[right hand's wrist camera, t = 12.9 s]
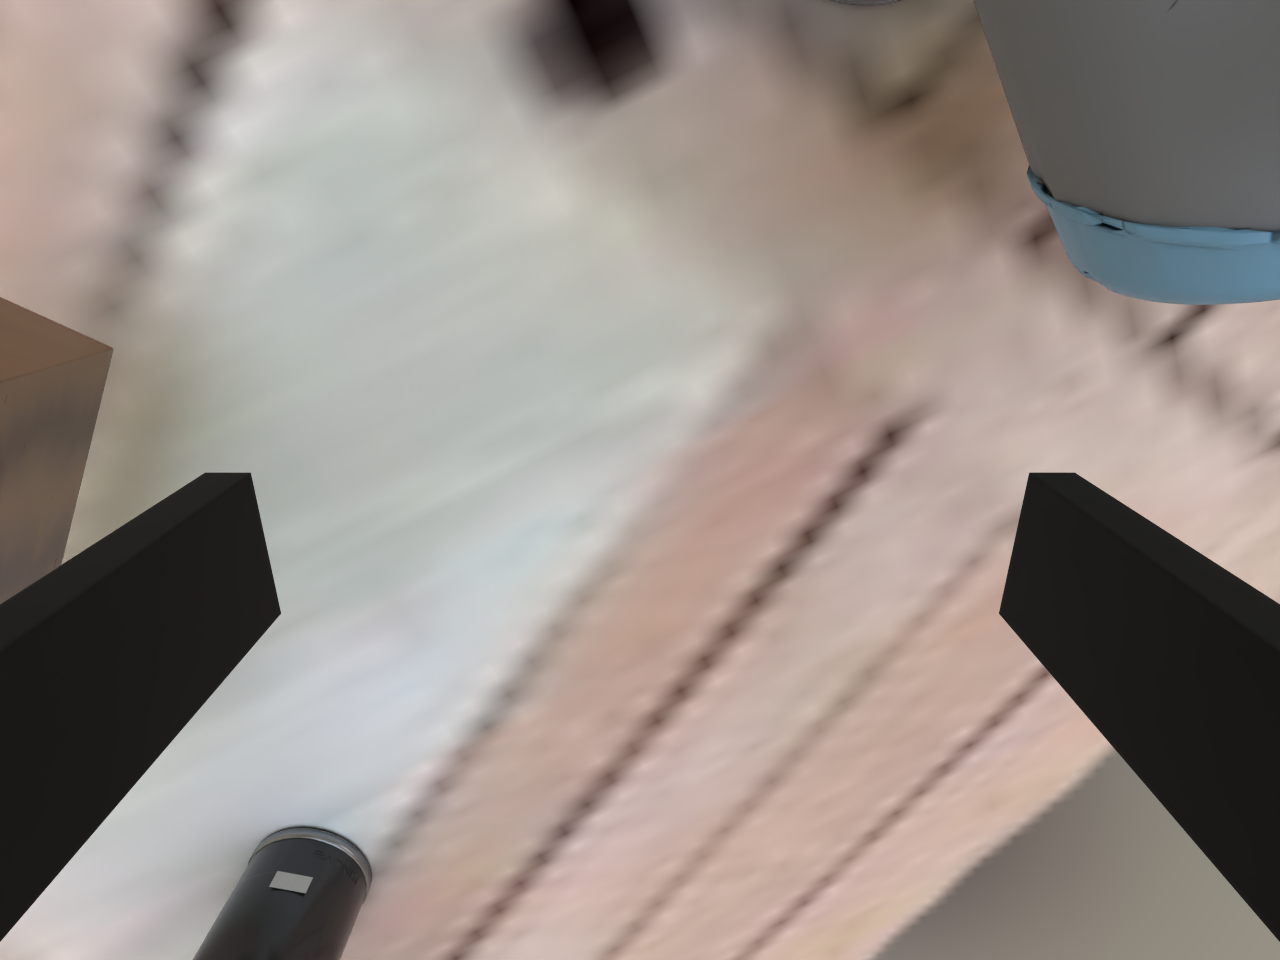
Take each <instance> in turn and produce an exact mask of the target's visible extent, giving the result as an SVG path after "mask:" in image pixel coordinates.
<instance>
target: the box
mask: <svg viewBox="0 0 1280 960" xmlns="http://www.w3.org/2000/svg"><path fill="white" fill-rule="evenodd" d="M112 353H113V348H112V347H110V346H108V345H105V344H103V343H101V342H99V341H96V340H94V339H92V338H90V337H88V336H85V335H83V334H81V333H79V332H76V331H74V330H72V329H70V328H68V327H65V326H63V325H61V324H59V323H57V322H54V321H52V320H50V319H48V318H45V317H43V316H41V315H39V314H37V313H34V312H32V311H30V310H28V309H25V308H23V307H21V306H19V305H17V304H14V303H12V302H10V301H8V300H6V299H3V298H1V297H0V604H2V603H3V602H5V601H6V600H8V599H9V598H11V597H13V596H14V595H16V594H17V593H19V592H20V591H22V590H23V589H25V588H27V587H28V586H30V585H31V584H33V583H34V582H36V581H37V580H39V579H41V578H42V577H44V576H45V575H47V574H48V573H50V572H51V571H53V570H55V569H56V568H58V567H59V566H61V564H62V559H63V555H64V551H65V547H66V543H67V539H68V535H69V531H70V527H71V522H72V518H73V514H74V510H75V506H76V502H77V498H78V494H79V489H80V485H81V481H82V477H83V473H84V469H85V465H86V461H87V456H88V452H89V448H90V444H91V440H92V436H93V432H94V428H95V423H96V419H97V415H98V411H99V407H100V403H101V399H102V395H103V391H104V386H105V382H106V378H107V374H108V370H109V366H110V362H111V358H112Z"/></svg>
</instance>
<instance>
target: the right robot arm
mask: <svg viewBox="0 0 1280 960" xmlns="http://www.w3.org/2000/svg"><path fill="white" fill-rule="evenodd" d="M832 1H836V2H840V3H846V4H854V5H876V4H886V3H891V2H896V1H900V0H832ZM974 3H975V6H976V9H977V12H978V15H979V18H980V21H981V24H982V27H983V30H984V33H985V36H986V38H987V41H988V44H989V47H990V50H991V53H992V56H993V59H994V62H995V65H996V68H997V71H998V74H999V77H1000V80H1001V82H1002V85H1003V88H1004V91H1005V94H1006V97H1007V100H1008V103H1009V106H1010V109H1011V112H1012V115H1013V118H1014V121H1015V124H1016V126H1017V129H1018V132H1019V135H1020V138H1021V141H1022V144H1023V147H1024V150H1025V153H1026V156H1027V159H1028V162H1029V168H1028V172H1027V175H1028V178H1029V181H1030V184H1031V187H1032V189H1033V191H1034V192H1035V194H1036V195H1037V197H1038V198H1039V199H1040V200H1042V201H1043V202H1044V203H1045V204H1046V206H1047V208H1048V210H1049V213H1050V215H1051V218H1052V220H1053V222H1054V225H1055V227H1056V230H1057V232H1058V234H1059V237H1060V239H1061V242H1062V244H1063V246H1064V249H1065V251H1066V254H1067V256H1068V257H1069V259H1070V261H1071V262H1072V263H1073V265H1074V266H1075V267H1076V268H1077V269H1078V271H1079V272H1080V273H1082V274H1083V275H1084V276H1086V277H1088V278H1090V279H1092V280H1094V281H1097V282H1099V283H1100V284H1102V285H1104V286H1105V287H1106V288H1107V289H1108V290H1111V291H1113V292H1115V293H1118V294H1121V295H1125V296H1129V297H1133V298H1137V299H1142V300H1147V301H1153V302H1162V303H1172V304H1190V305H1210V304H1235V303H1251V302H1263V301H1271V300H1279V299H1280V0H974ZM280 614H281V611H280V607H279V602H278V597H277V593H276V588H275V583H274V579H273V574H272V570H271V565H270V560H269V556H268V551H267V546H266V542H265V537H264V532H263V528H262V523H261V518H260V514H259V509H258V505H257V500H256V495H255V491H254V486H253V481H252V477H251V473H204V474H203V475H201V476H199V477H198V478H196V479H195V480H193V481H192V482H190V483H189V484H187V485H185V486H184V487H182V488H181V489H179V490H178V491H176V492H175V493H173V494H171V495H170V496H168V497H167V498H165V499H164V500H162V501H160V502H159V503H157V504H156V505H154V506H153V507H151V508H150V509H148V510H146V511H145V512H143V513H142V514H140V515H139V516H137V517H136V518H134V519H132V520H131V521H129V522H128V523H126V524H125V525H123V526H122V527H120V528H118V529H117V530H115V531H114V532H112V533H111V534H109V535H108V536H106V537H104V538H103V539H101V540H100V541H98V542H97V543H95V544H94V545H92V546H90V547H89V548H87V549H86V550H84V551H83V552H81V553H79V554H78V555H76V556H75V557H73V558H72V559H70V560H69V561H67V562H65V563H64V564H62V565H61V566H59V567H58V568H56V569H55V570H53V571H51V572H50V573H48V574H47V575H45V576H44V577H42V578H41V579H39V580H37V581H36V582H34V583H33V584H31V585H30V586H28V587H27V588H25V589H23V590H22V591H20V592H19V593H17V594H16V595H14V596H13V597H11V598H9V599H8V600H6V601H5V602H3V603H2V604H0V941H1V940H2V939H3V938H4V937H5V936H6V934H7V933H8V932H9V931H10V930H11V929H12V927H13V926H14V925H15V924H16V923H17V921H18V920H19V919H20V918H21V917H22V916H23V914H24V913H25V912H26V911H27V910H28V909H29V907H30V906H31V905H32V904H33V903H34V902H35V900H36V899H37V898H38V897H39V896H40V895H41V893H42V892H43V891H44V890H45V889H46V888H47V886H48V885H49V884H50V883H51V882H52V881H53V879H54V878H55V877H56V876H57V875H58V874H59V872H60V871H61V870H62V869H63V868H64V867H65V865H66V864H67V863H68V862H69V861H70V860H71V858H72V857H73V856H74V855H75V854H76V853H77V851H78V850H79V849H80V848H81V847H82V845H83V844H84V843H85V842H86V841H87V840H88V838H89V837H90V836H91V835H92V834H93V833H94V831H95V830H96V829H97V828H98V827H99V826H100V824H101V823H102V822H103V821H104V820H105V819H106V817H107V816H108V815H109V814H110V813H111V812H112V810H113V809H114V808H115V807H116V806H117V805H118V803H119V802H120V801H121V800H122V799H123V798H124V796H125V795H126V794H127V793H128V792H129V791H130V789H131V788H132V787H133V786H134V785H135V784H136V782H137V781H138V780H139V779H140V778H141V777H142V775H143V774H144V773H145V772H146V771H147V769H148V768H149V767H150V766H151V765H152V764H153V762H154V761H155V760H156V759H157V758H158V757H159V755H160V754H161V753H162V752H163V751H164V750H165V748H166V747H167V746H168V745H169V744H170V743H171V741H172V740H173V739H174V738H175V737H176V736H177V734H178V733H179V732H180V731H181V730H182V729H183V727H184V726H185V725H186V724H187V723H188V722H189V720H190V719H191V718H192V717H193V716H194V715H195V713H196V712H197V711H198V710H199V709H200V708H201V706H202V705H203V704H204V703H205V702H206V701H207V699H208V698H209V697H210V696H211V695H212V693H213V692H214V691H215V690H216V689H217V688H218V686H219V685H220V684H221V683H222V682H223V681H224V679H225V678H226V677H227V676H228V675H229V674H230V672H231V671H232V670H233V669H234V668H235V667H236V665H237V664H238V663H239V662H240V661H241V660H242V658H243V657H244V656H245V655H246V654H247V653H248V651H249V650H250V649H251V648H252V647H253V646H254V644H255V643H256V642H257V641H258V640H259V639H260V637H261V636H262V635H263V634H264V633H265V632H266V630H267V629H268V628H269V627H270V626H271V625H272V623H273V622H274V621H275V620H276V619H277V617H278V616H279V615H280ZM999 614H1000V615H1001V616H1002V617H1003V619H1004V620H1005V621H1006V622H1007V623H1008V625H1009V626H1010V627H1011V628H1012V629H1013V630H1014V632H1015V633H1016V634H1017V635H1018V636H1019V637H1020V639H1021V640H1022V641H1023V642H1024V643H1025V644H1026V646H1027V647H1028V648H1029V649H1030V650H1031V651H1032V653H1033V654H1034V655H1035V656H1036V657H1037V658H1038V660H1039V661H1040V662H1041V663H1042V664H1043V665H1044V667H1045V668H1046V669H1047V670H1048V671H1049V672H1050V674H1051V675H1052V676H1053V677H1054V678H1055V679H1056V681H1057V682H1058V683H1059V684H1060V685H1061V686H1062V688H1063V689H1064V690H1065V691H1066V692H1067V693H1068V695H1069V696H1070V697H1071V698H1072V699H1073V701H1074V702H1075V703H1076V704H1077V705H1078V706H1079V708H1080V709H1081V710H1082V711H1083V712H1084V713H1085V715H1086V716H1087V717H1088V718H1089V719H1090V720H1091V722H1092V723H1093V724H1094V725H1095V726H1096V727H1097V729H1098V730H1099V731H1100V732H1101V733H1102V734H1103V736H1104V737H1105V738H1106V739H1107V740H1108V741H1109V743H1110V744H1111V745H1112V746H1113V747H1114V748H1115V750H1116V751H1117V752H1118V753H1119V754H1120V755H1121V757H1122V758H1123V759H1124V760H1125V761H1126V762H1127V764H1128V765H1129V766H1130V767H1131V768H1132V769H1133V771H1134V772H1135V773H1136V774H1137V775H1138V777H1139V778H1140V779H1141V780H1142V781H1143V782H1144V783H1145V785H1146V786H1147V787H1148V788H1149V789H1150V791H1151V792H1152V793H1153V794H1154V795H1155V796H1156V798H1157V799H1158V800H1159V801H1160V802H1161V803H1162V805H1163V806H1164V807H1165V808H1166V809H1167V810H1168V812H1169V813H1170V814H1171V815H1172V816H1173V817H1174V819H1175V820H1176V821H1177V822H1178V823H1179V824H1180V826H1181V827H1182V828H1183V829H1184V830H1185V831H1186V833H1187V834H1188V835H1189V836H1190V837H1191V838H1192V840H1193V841H1194V842H1195V843H1196V844H1197V845H1198V847H1199V848H1200V849H1201V850H1202V851H1203V852H1204V854H1205V855H1206V856H1207V857H1208V858H1209V860H1210V861H1211V862H1212V863H1213V864H1214V865H1215V867H1216V868H1217V869H1218V870H1219V871H1220V872H1221V874H1222V875H1223V876H1224V877H1225V878H1226V879H1227V881H1228V882H1229V883H1230V884H1231V885H1232V886H1233V888H1234V889H1235V890H1236V891H1237V892H1238V893H1239V895H1240V896H1241V897H1242V898H1243V899H1244V900H1245V902H1246V903H1247V904H1248V905H1249V906H1250V907H1251V909H1252V910H1253V911H1254V912H1255V913H1256V914H1257V916H1258V917H1259V918H1260V919H1261V920H1262V921H1263V923H1264V924H1265V925H1266V926H1267V927H1268V929H1269V930H1270V931H1271V932H1272V933H1273V934H1274V935H1275V937H1276V938H1277V939H1278V940H1279V941H1280V604H1278V603H1277V602H1275V601H1274V600H1272V599H1271V598H1269V597H1267V596H1266V595H1264V594H1263V593H1261V592H1260V591H1258V590H1257V589H1255V588H1253V587H1252V586H1250V585H1249V584H1247V583H1246V582H1244V581H1243V580H1241V579H1239V578H1238V577H1236V576H1235V575H1233V574H1232V573H1230V572H1229V571H1227V570H1225V569H1224V568H1222V567H1221V566H1219V565H1218V564H1216V563H1215V562H1213V561H1211V560H1210V559H1208V558H1207V557H1205V556H1204V555H1202V554H1201V553H1199V552H1197V551H1196V550H1194V549H1193V548H1191V547H1190V546H1188V545H1186V544H1185V543H1183V542H1182V541H1180V540H1179V539H1177V538H1176V537H1174V536H1172V535H1171V534H1169V533H1168V532H1166V531H1165V530H1163V529H1162V528H1160V527H1158V526H1157V525H1155V524H1154V523H1152V522H1151V521H1149V520H1148V519H1146V518H1144V517H1143V516H1141V515H1140V514H1138V513H1137V512H1135V511H1134V510H1132V509H1130V508H1129V507H1127V506H1126V505H1124V504H1123V503H1121V502H1120V501H1118V500H1116V499H1115V498H1113V497H1112V496H1110V495H1109V494H1107V493H1105V492H1104V491H1102V490H1101V489H1099V488H1098V487H1096V486H1095V485H1093V484H1091V483H1090V482H1088V481H1087V480H1085V479H1084V478H1082V477H1081V476H1079V475H1077V474H1076V473H1029V477H1028V481H1027V486H1026V491H1025V495H1024V500H1023V505H1022V509H1021V514H1020V518H1019V523H1018V528H1017V532H1016V537H1015V542H1014V546H1013V551H1012V556H1011V560H1010V565H1009V570H1008V574H1007V579H1006V583H1005V588H1004V593H1003V597H1002V602H1001V607H1000V611H999Z"/></svg>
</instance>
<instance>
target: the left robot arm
mask: <svg viewBox="0 0 1280 960" xmlns="http://www.w3.org/2000/svg"><path fill="white" fill-rule="evenodd" d="M371 879H372V877H371V870H370V867H369V864H368V862H367V860H366V859H365V857H364V856H363V855H362V853H361V852H360V851H359V850H358V849H357V848H356V847H355V846H353V845H352V844H351V843H349V842H348V841H346V840H345V839H343V838H341V837H339V836H337V835H335V834H332V833H329V832H326V831H323V830H318V829H312V828H293V829H287V830H282V831H279V832H276V833H274V834H272V835H270V836H269V837H267V838H266V839H264V840H263V841H262V842H261V843H260V844H259V845H258V847H257V848H256V850H255V852H254V853H253V855H252V857H251V858H250V861H249V863H248V866H247V868H246V870H245V871H244V873H243V875H242V877H241V878H240V880H239V882H238V883H237V885H236V887H235V889H234V890H233V892H232V893H231V895H230V897H229V898H228V900H227V902H226V904H225V905H224V907H223V909H222V910H221V912H220V914H219V916H218V917H217V919H216V921H215V922H214V924H213V926H212V928H211V929H210V931H209V933H208V934H207V936H206V938H205V940H204V941H203V943H202V945H201V946H200V948H199V950H198V952H197V953H196V955H195V957H194V958H193V960H340V959H341V956H342V954H343V951H344V949H345V946H346V944H347V941H348V938H349V936H350V934H351V931H352V929H353V926H354V923H355V921H356V918H357V916H358V913H359V911H360V908H361V905H362V904H363V903H364V901H365V899H366V896H367V894H368V891H369V888H370V886H371Z"/></svg>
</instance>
